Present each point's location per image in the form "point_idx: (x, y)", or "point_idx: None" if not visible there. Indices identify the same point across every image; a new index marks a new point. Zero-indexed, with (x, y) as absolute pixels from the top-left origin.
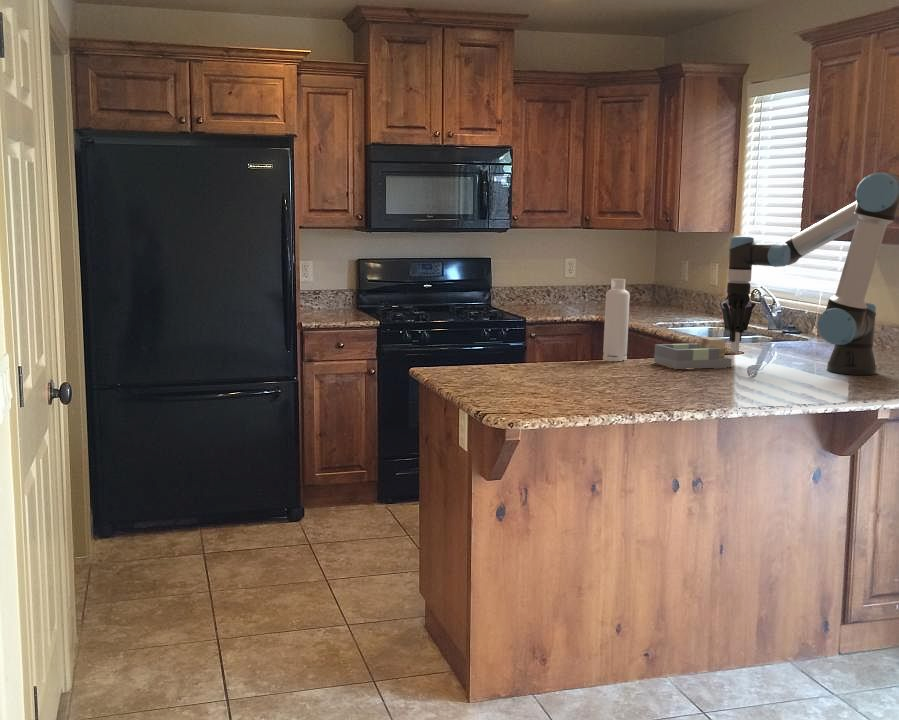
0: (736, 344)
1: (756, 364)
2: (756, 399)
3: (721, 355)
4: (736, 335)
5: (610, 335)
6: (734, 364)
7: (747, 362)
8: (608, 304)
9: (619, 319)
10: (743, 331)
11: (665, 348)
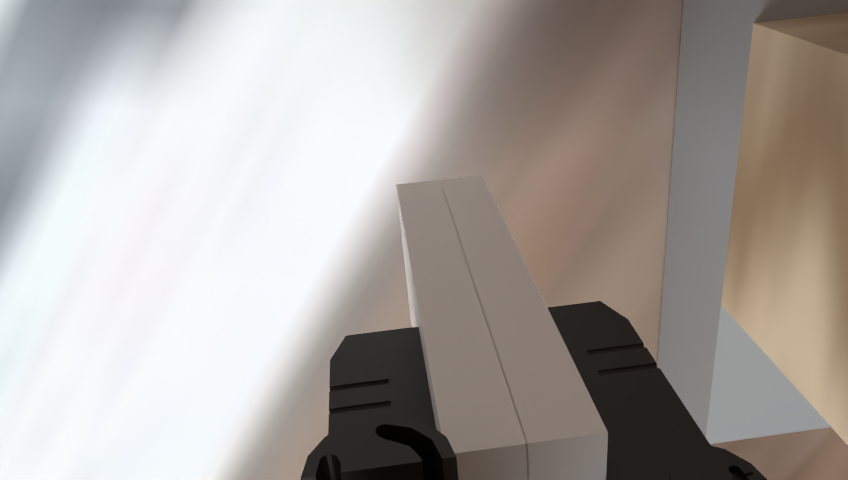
0: (488, 240)
1: (59, 103)
2: None
3: (841, 19)
4: (563, 374)
5: None
6: (424, 134)
7: (131, 287)
8: None
9: None
10: (322, 468)
11: None
